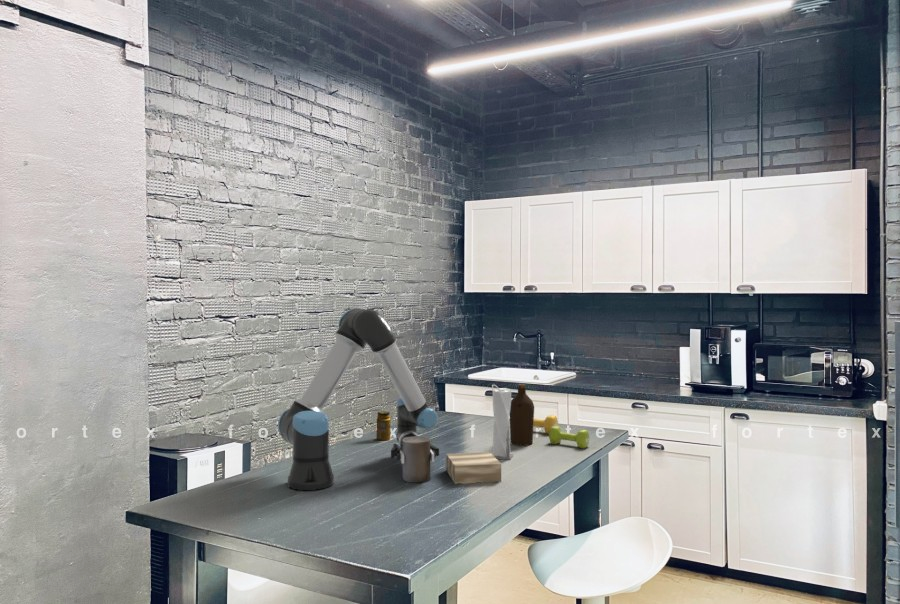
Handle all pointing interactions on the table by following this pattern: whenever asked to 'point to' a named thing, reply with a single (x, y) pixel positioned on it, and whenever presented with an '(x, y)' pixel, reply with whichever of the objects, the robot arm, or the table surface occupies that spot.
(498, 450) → the skyscraper
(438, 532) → the table surface
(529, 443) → the olive oil
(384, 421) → the condiment
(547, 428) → the dumbbell
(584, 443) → the dumbbell
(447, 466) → the oak block
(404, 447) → the pillar candle
